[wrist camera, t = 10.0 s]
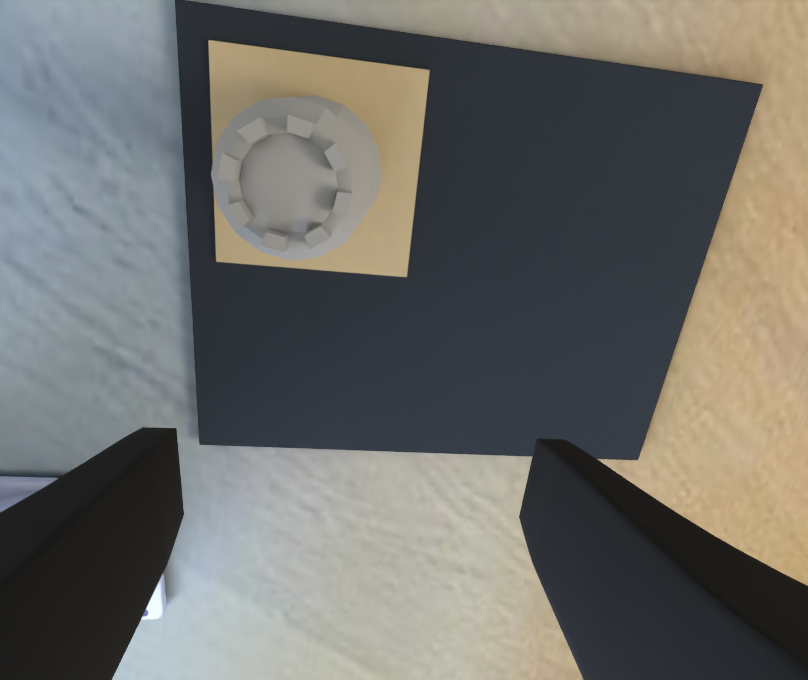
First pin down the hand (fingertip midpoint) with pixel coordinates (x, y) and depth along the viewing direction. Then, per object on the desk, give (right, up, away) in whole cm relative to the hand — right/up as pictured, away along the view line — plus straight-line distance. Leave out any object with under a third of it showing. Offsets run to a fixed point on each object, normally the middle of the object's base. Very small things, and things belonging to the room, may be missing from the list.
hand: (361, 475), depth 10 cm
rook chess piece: (-2, +9, +7) cm, 11 cm away
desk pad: (+3, +5, +9) cm, 11 cm away
